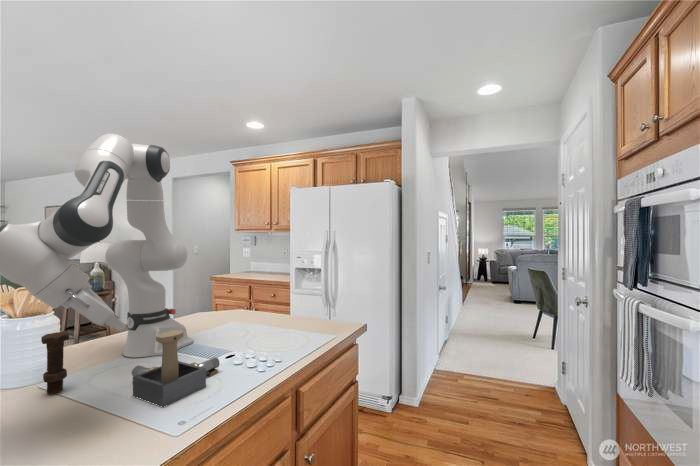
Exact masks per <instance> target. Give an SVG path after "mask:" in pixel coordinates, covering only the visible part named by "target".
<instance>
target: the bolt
mask: <svg viewBox="0 0 700 466" xmlns="http://www.w3.org/2000/svg"><path fill="white" fill-rule="evenodd" d="M67 340H70V334H69V332H67V331H59V332H58V331H57V332H51V333H46V334H44V335H42V336H41V343H42V345H46V372H44V373H43V374H42V375H43V376H42V377H43V378H42V379H43V382H44V383H46V394H47V395H50V396H52V395H58V394H60V393H61V392H62V391H63V390H64V380H65V379H66V377H67V376H68V371H67V368H64V346H65V341H67Z"/></svg>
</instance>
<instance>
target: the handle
mask: <svg viewBox="0 0 700 466" xmlns="http://www.w3.org/2000/svg"><path fill="white" fill-rule="evenodd" d="M182 337H183V331H181V330H175V331H168V332H164V333H161V334H158V335H156V341H157V342H159V343H162V346H163V351H162V355H161V356H162V357H161V366H162V367H161V366H160V367H161V378H162V383H163V384H165V383H168V382H170V381H172V380H175V379H177V378H178V374H179V368H178V367H179V366H178V361H179V357H178V356H179V355H178V349H177V341H178V340H179V339H181V338H182Z"/></svg>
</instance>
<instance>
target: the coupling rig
mask: <svg viewBox="0 0 700 466" xmlns="http://www.w3.org/2000/svg"><path fill="white" fill-rule="evenodd" d="M178 366H179V367H178V368H179V374H178V378H177V379H175V380H172V381H170V382H168V383H165V384H163V383H162V378H161V367H162V365H161V366H153V367H150V368H149V367H145V366H144V365H135V366H134V368H132V370H131V376H132V397H133V396H135V397H134V398H136V397H138V398H141V399H143V400H142V401H144V400H146V401H149V402H151V403H150V404H152V403H154V404H157V405H159V406H158V407H160V406H162V407H163V408H165V407H167V406H170V405H171V403H172V404H174V403H176V402H177V401H179V400H182V399H184V398H186V397H188V396H190V395H192V394H194V393H197V392H198V391H200V390H203V389H206V387H207V376H208V377H213V376H215V375H217V374H218V368H219V367H220V359H219V358H218V357H213V358H210V359H208V360H205V361H203V362H201V363H197V362H192V363H191V362H190V363H187V362H182V361H180V360H178ZM138 398H137V399H138ZM141 399H140V400H141ZM146 401H145V402H146ZM149 402H148V403H149ZM173 402H174V403H173ZM154 404H153V405H154ZM157 405H156V406H157ZM166 405H167V406H166ZM164 406H165V407H164ZM162 407H161V408H162Z"/></svg>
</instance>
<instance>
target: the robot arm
mask: <svg viewBox="0 0 700 466" xmlns="http://www.w3.org/2000/svg"><path fill="white" fill-rule="evenodd" d="M169 156H170V155H169V153H168V152H167V150H166V149H164V147H162V146H158V145H154V144H150V145H149V144H148V145H147V144H141V143H131V141H129V139H127V138H125V137H124V136H122V135H120V134H116V133H105V134H103V135H101V136H99V137H97V138H96V139H95V140H94V141H93V142H92V143H91V144H90V145H89V146H88V147H87V148H86V149H85V150H84V152H83V153H82V155H81V156H80V157H79V159H78V160H77V164H76V166H75V168H74V177H75V178H76V179H77V181H78V183H80V184H81V186H83V187H84V188H83V190H82V191H81V193H80V195H77V196H75V197H73V198H71V199H70V200H68V201H66V202H64V204H62V205H61V206H60V207H59V208H58V209H57V210H55V212H53V213H52V214H50V215H49V216H48V217H47V218H45V219H44V220H38V221H35V222H30V223H22V224H21V223H20V224H14V223H6V224H3V225H2V226H0V276H2V277H3V278H5V279H6V280H7V281H9V282H11V283H14V284H16V285H19V286H21V287H23V288H24V289H26V290H27V291H28V293H29V294H30V295H32V296H33V297H35V298H36V299H37V300H39V301H41V302H42V303H44V304H45V305H47V306H48V307H50V308H52V309H53V310H54V309H58V308H59V307H63V308H65V309H66V310H67V309H70V308H72V309H74V311H76V312H77V313H78V314H79V315H81V316H83V317H85V318H86V319H87V320H89V321H90V322H92V323H93V324H95V325H96V326H99V327H102V326H104V325H106V326H108V327H111V328H113V329H115V330H116V331H117V332H122V331H123V330H124V329H125V328H127V336H126V341H125V346H124V349H123V352H122V355H123V356H125V357H127V358H145V357H152V356H153V357H154V356H156V357H157V356H162V351H163V346H162V343H159V342H157V341H156V335H158V334H161V333H164V332H168V331H175V330H181V331H183V337H182V338H181V339H179V340H178V341H177V350H179V349H181V348H183V347H184V348H185V346H189V345H190V344H192V343H193V344H194V343H195V341H194V340H195V339H194V338H193V337H191V336H188V332H187V328H186V327H185V325H184V324H182V323H181V322H178V321H177V320H175V319H173V318H172V317H171V315H175V314H176V313H177V310H176V309H175V308H167V307H166V289H165V285H163V284H162V283H161V282H158V281H157V280H154V278H152V277H151V274H150V272H161V271H162V272H166V271H167V272H168V271H172V270H177V269H181V268H182V267H183V266H184V265H185V263H186V262H187V260H188V251H187V248H186V246H185V245H184V243H183V242H181V241H180V240H178V239H177V238H176V237H175V236H174V235H173V234H172V232H171V231H170V230H169V227H168V225H167V222H166V217H165V204H164V203H165V202H164V190H163V185H162V180H163V179H164V178H165V177H167V175H168V174H169V172H170V169H171V160H170V159H171V158H170V157H169ZM125 180H127V181H126V183H127V184H126V194H125V195H126V217H127V220H126V221H127V222H128V224H129V225H130V226H131V227H132V228H133V229H136V230H138V231H140V232H141V233H142V234H143V235H144V237H145V239H127V240H120V241H116V242H112V243H111V244H110V245H109V246H108V248H107V249H106V252H105V256H104V257H105V258H104V259H105V262H106V264H107V266H108V267H109V268H110V269H111V270H112V271H115V272H116V273H117V274H118V275H119V277H120V278H121V279H122V280H123V281H124V284H125V286H126V289H127V296H128V297H127V298H128V311H127V315H126V316H127V317H126V319H127V320H126V323H127V324H126V323H124V322H123V321H121V320H120V318H119V316H118V315H116V314H115V311H113V310H112V308H110V306H109V305H108V304H107V303H106V302H105V301H104V300H103V299H102V298H101V297H100V296H99V295H98V294H97V293H96V292H95V291H94V290H93V289H92V288H93V285H92V284H90V283H89V281H90V279H91V276H90V275H89V274H87V273H85V272H84V271H83V270H81V269H80V268H79V267H77V266H76V265H74V264H73V263H72V262H70V261H69V259H72V258H73V257H75V256H77V255H78V254H80V253H82V252H83V251H85V250H86V249H88V248H90V247H91V246H93V245H95V244H96V243H97V244H98V243H99V242H101V241H103V240H104V239H106V238H107V237H109V235H110V234H111V232H112V230H113V227H114V226H113V225H114V215H113V210H114V205H115V203H116V199H117V198H118V195H119V192H120V190H121V187H122V184H123V183H124V182H125Z"/></svg>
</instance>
